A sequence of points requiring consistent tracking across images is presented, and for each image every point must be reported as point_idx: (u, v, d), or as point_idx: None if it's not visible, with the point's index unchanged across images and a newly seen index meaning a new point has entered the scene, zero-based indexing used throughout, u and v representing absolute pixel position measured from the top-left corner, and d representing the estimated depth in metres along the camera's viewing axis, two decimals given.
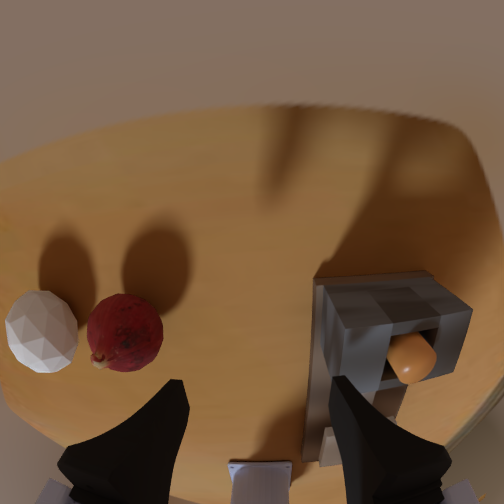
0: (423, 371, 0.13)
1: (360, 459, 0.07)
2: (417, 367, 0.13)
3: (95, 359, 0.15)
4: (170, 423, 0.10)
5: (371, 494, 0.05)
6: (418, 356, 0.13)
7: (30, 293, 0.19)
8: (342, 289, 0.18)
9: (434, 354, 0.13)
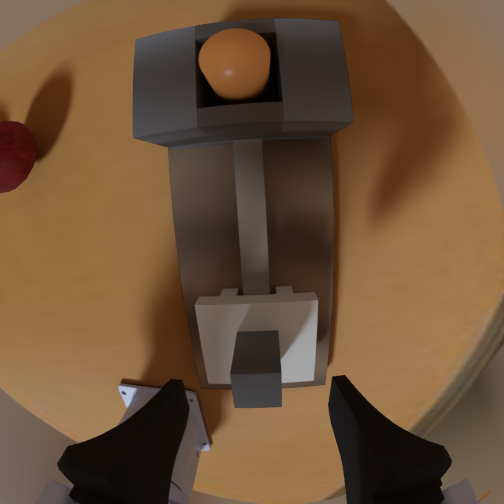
0: (249, 64, 0.08)
1: (360, 459, 0.07)
2: (233, 56, 0.08)
3: None
4: (171, 423, 0.10)
5: (371, 494, 0.05)
6: (227, 38, 0.08)
7: None
8: None
9: (260, 38, 0.08)
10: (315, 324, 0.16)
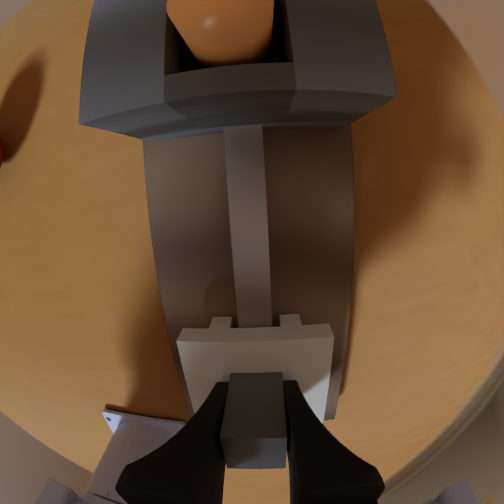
0: (242, 5, 0.04)
1: (293, 468, 0.07)
2: None
3: None
4: None
5: None
6: None
7: None
8: None
9: None
10: (329, 364, 0.12)
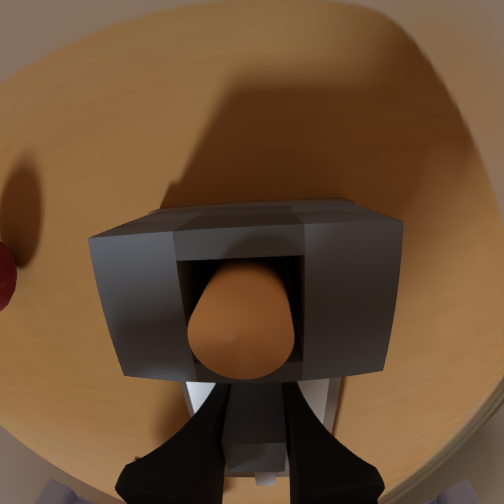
0: (263, 354, 0.07)
1: (293, 468, 0.07)
2: (239, 340, 0.07)
3: None
4: None
5: None
6: (228, 310, 0.06)
7: None
8: (173, 212, 0.12)
9: (280, 313, 0.06)
10: None
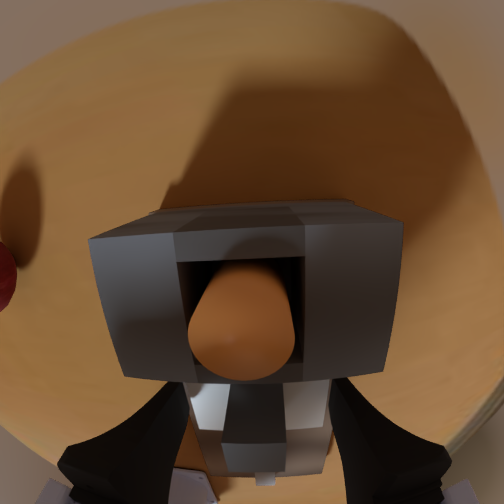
0: (263, 356, 0.07)
1: (360, 459, 0.07)
2: (239, 342, 0.07)
3: None
4: (171, 423, 0.10)
5: (371, 494, 0.05)
6: (229, 312, 0.06)
7: None
8: (173, 212, 0.12)
9: (281, 315, 0.06)
10: None
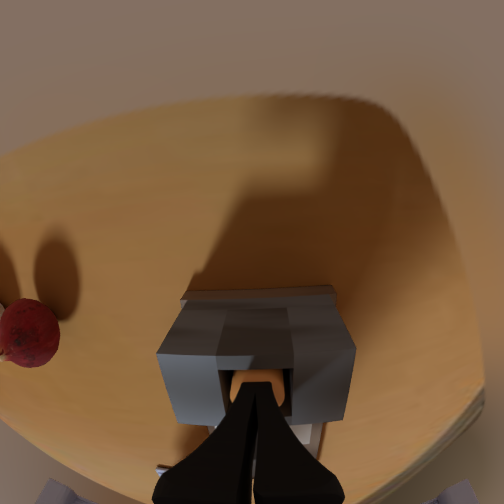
0: None
1: None
2: None
3: None
4: (252, 428, 0.10)
5: None
6: None
7: None
8: (201, 306, 0.17)
9: (277, 386, 0.12)
10: None
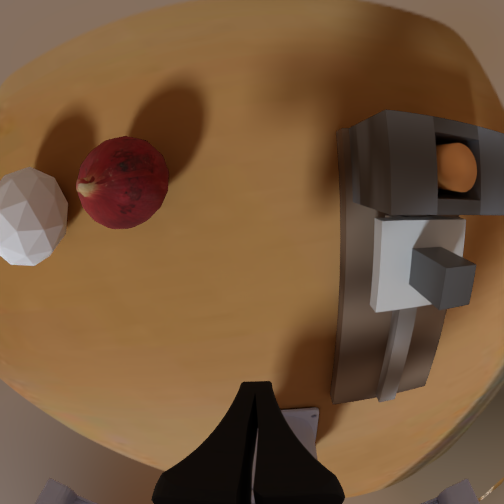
0: (468, 177, 0.11)
1: None
2: (460, 168, 0.11)
3: (82, 181, 0.12)
4: (252, 428, 0.10)
5: None
6: (457, 152, 0.11)
7: None
8: None
9: (472, 156, 0.11)
10: (463, 241, 0.15)
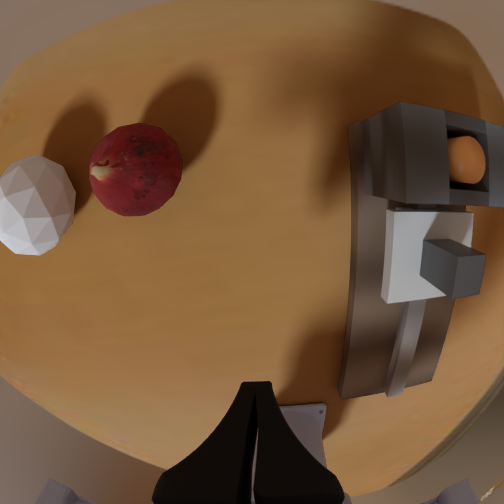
0: (477, 169, 0.11)
1: None
2: (470, 160, 0.11)
3: (96, 164, 0.12)
4: (252, 428, 0.10)
5: None
6: (467, 144, 0.11)
7: None
8: None
9: (481, 149, 0.11)
10: (471, 234, 0.15)
